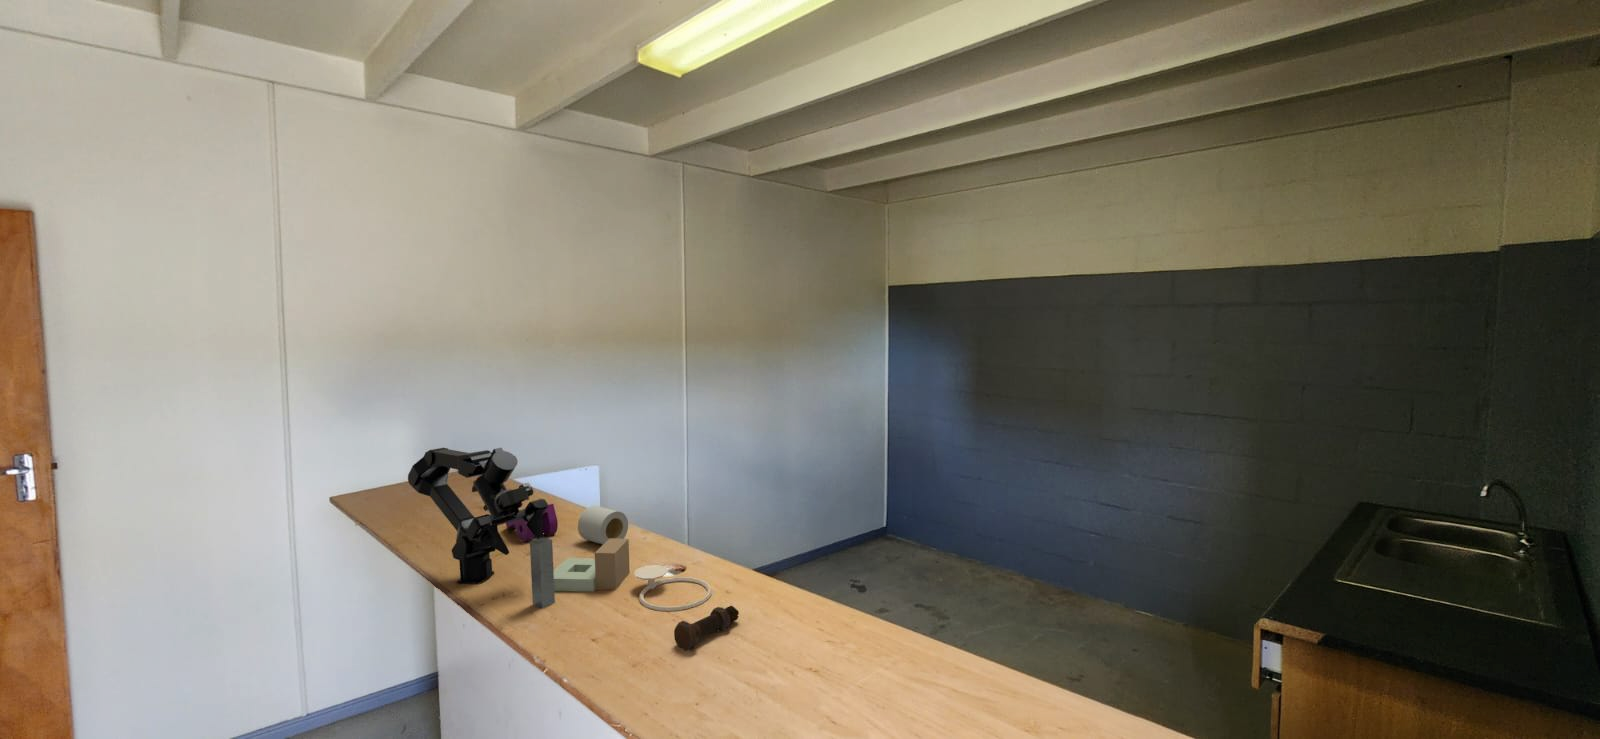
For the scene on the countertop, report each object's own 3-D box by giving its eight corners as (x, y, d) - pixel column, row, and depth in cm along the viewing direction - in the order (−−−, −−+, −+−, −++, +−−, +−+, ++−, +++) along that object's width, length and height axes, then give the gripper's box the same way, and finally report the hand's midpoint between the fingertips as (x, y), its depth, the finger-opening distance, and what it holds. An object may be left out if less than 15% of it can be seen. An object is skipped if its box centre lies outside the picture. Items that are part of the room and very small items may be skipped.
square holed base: (545, 590, 156) (543, 554, 155) (568, 569, 169) (566, 535, 168) (613, 591, 155) (612, 555, 154) (631, 570, 168) (630, 536, 167)
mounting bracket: (507, 551, 199) (528, 538, 187) (501, 524, 201) (522, 510, 189) (537, 543, 206) (560, 530, 194) (531, 517, 207) (553, 503, 195)
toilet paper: (578, 544, 188) (577, 510, 187) (606, 534, 196) (605, 502, 195) (600, 551, 182) (599, 516, 181) (628, 540, 190) (627, 507, 189)
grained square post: (532, 604, 149) (529, 541, 147) (545, 599, 151) (542, 537, 150) (542, 608, 147) (539, 544, 145) (554, 602, 150) (552, 539, 148)
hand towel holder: (677, 600, 141) (612, 580, 152) (678, 620, 142) (612, 598, 152) (726, 573, 156) (663, 556, 166) (726, 591, 156) (663, 573, 167)
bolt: (737, 630, 140) (684, 657, 128) (722, 613, 143) (670, 638, 131) (747, 611, 138) (694, 636, 126) (732, 594, 141) (679, 617, 129)
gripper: (470, 483, 145) (502, 540, 140) (542, 466, 160) (573, 516, 156) (452, 512, 149) (483, 568, 145) (524, 493, 165) (553, 542, 160)
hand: (525, 547), depth 151 cm, fingers open, 9 cm apart
